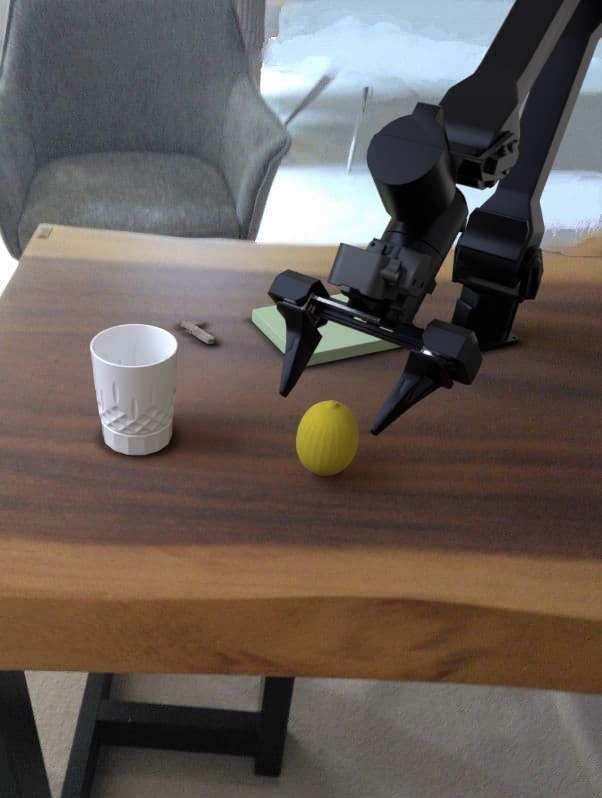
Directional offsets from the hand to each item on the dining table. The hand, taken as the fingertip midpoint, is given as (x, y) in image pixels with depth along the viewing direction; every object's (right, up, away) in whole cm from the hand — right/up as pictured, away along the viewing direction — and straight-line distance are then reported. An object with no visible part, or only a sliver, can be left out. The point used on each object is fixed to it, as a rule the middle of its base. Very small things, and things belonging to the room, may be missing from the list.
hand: (326, 414), depth 69 cm
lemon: (0, -5, +5) cm, 7 cm away
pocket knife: (-11, +13, +25) cm, 30 cm away
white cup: (-17, -1, +9) cm, 20 cm away
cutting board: (+5, +14, +26) cm, 30 cm away
